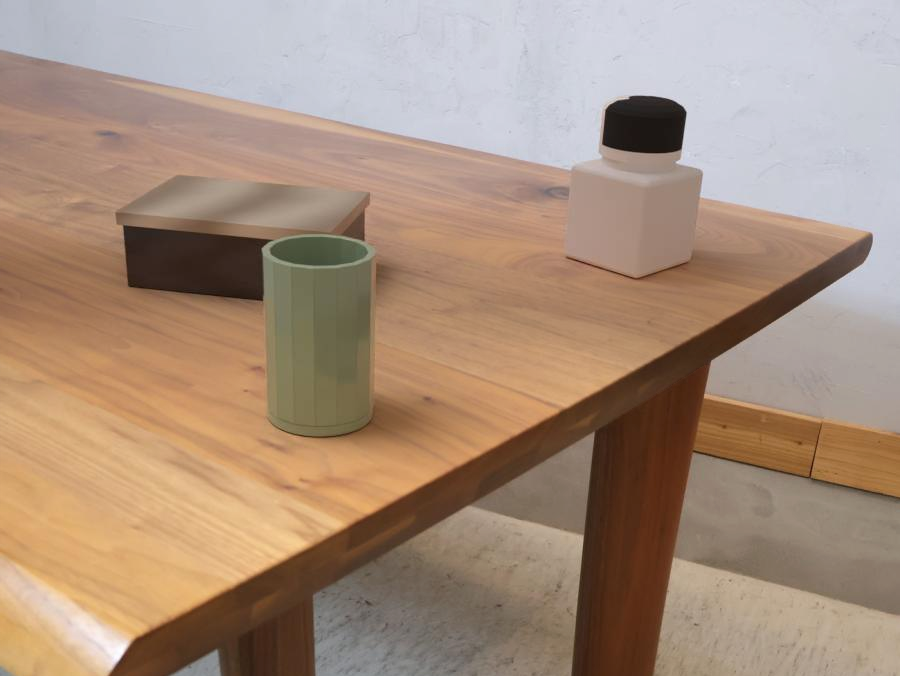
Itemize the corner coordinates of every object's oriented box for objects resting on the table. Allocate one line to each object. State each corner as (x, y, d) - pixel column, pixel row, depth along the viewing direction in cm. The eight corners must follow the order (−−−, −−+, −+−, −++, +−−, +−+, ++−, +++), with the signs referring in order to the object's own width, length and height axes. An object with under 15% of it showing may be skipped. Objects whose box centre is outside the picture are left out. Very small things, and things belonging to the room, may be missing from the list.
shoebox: (121, 287, 78) (114, 211, 75) (181, 243, 87) (177, 174, 85) (331, 309, 76) (331, 232, 73) (369, 261, 85) (370, 191, 83)
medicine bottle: (692, 262, 88) (715, 102, 83) (636, 280, 84) (657, 112, 78) (618, 240, 93) (635, 86, 87) (561, 256, 88) (576, 95, 83)
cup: (252, 429, 59) (246, 261, 55) (285, 387, 64) (281, 229, 60) (358, 442, 58) (360, 272, 54) (383, 398, 63) (386, 239, 59)
